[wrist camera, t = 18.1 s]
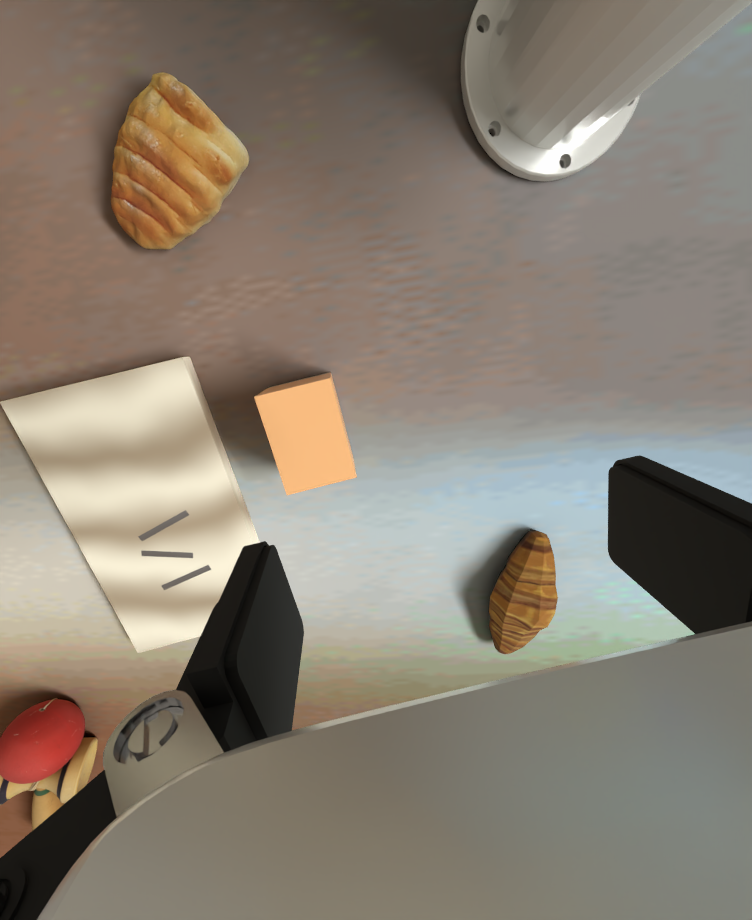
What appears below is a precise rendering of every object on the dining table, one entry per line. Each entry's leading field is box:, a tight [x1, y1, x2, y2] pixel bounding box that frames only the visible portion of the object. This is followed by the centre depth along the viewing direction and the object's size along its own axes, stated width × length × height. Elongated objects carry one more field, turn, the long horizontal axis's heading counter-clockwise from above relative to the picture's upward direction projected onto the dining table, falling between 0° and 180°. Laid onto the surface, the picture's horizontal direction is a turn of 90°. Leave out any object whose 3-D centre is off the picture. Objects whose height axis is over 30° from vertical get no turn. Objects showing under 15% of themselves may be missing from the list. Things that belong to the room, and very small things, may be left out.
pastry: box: [111, 72, 249, 249], centre depth 24 cm, size 9×7×4 cm
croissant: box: [489, 530, 558, 654], centre depth 36 cm, size 14×7×5 cm, turn 170°
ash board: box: [0, 357, 260, 653], centre depth 31 cm, size 23×13×2 cm, turn 13°
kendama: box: [0, 698, 98, 831], centre depth 36 cm, size 8×6×18 cm
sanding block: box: [254, 372, 357, 495], centre depth 28 cm, size 7×5×6 cm
